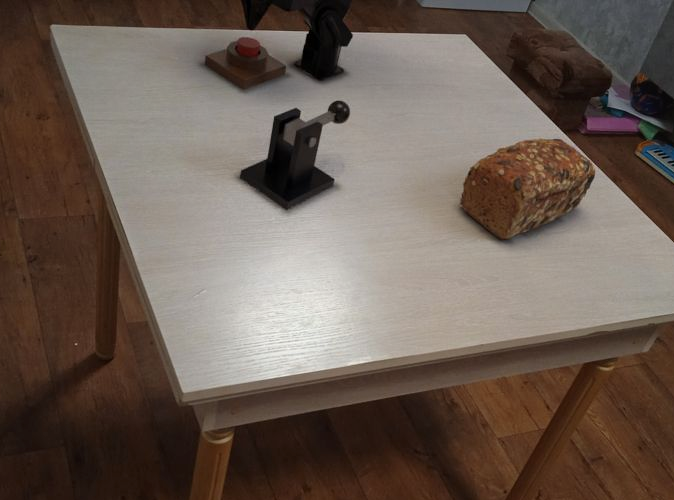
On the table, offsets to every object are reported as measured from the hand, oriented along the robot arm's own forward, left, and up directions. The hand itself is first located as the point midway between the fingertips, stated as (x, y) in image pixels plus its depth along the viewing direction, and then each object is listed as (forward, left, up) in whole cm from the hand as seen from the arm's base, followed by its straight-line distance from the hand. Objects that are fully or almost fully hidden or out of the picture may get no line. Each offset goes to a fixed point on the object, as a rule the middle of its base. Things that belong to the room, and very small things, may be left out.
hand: (250, 29), depth 132 cm
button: (0, 0, -4) cm, 4 cm away
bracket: (+18, +26, -7) cm, 32 cm away
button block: (0, 0, -7) cm, 7 cm away
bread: (-7, +51, -7) cm, 52 cm away
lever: (+13, +26, 0) cm, 29 cm away
